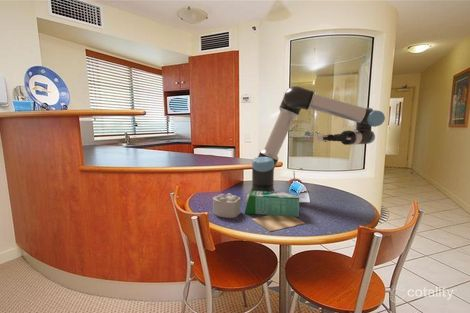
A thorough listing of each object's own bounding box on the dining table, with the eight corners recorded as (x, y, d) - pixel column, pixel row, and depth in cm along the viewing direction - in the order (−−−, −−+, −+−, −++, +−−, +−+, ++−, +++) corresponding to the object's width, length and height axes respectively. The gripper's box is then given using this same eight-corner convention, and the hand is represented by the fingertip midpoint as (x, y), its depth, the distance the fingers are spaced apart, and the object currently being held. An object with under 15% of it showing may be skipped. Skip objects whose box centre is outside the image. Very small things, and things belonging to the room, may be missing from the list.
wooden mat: (284, 212, 117) (284, 212, 117) (305, 223, 105) (305, 222, 105) (252, 219, 109) (252, 218, 109) (269, 231, 97) (269, 231, 97)
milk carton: (299, 198, 110) (244, 195, 115) (298, 217, 111) (244, 213, 116) (298, 192, 119) (246, 190, 123) (297, 210, 120) (246, 207, 125)
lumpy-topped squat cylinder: (234, 218, 110) (234, 200, 109) (208, 214, 115) (208, 196, 114) (242, 211, 120) (242, 193, 118) (218, 207, 124) (218, 191, 123)
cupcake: (285, 188, 159) (286, 170, 158) (296, 187, 163) (296, 169, 161) (293, 192, 152) (294, 173, 150) (304, 190, 155) (305, 171, 153)
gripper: (341, 130, 136) (308, 130, 126) (362, 131, 124) (327, 131, 114) (340, 143, 137) (307, 144, 127) (360, 145, 125) (326, 147, 115)
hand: (316, 138), depth 121 cm, fingers closed
